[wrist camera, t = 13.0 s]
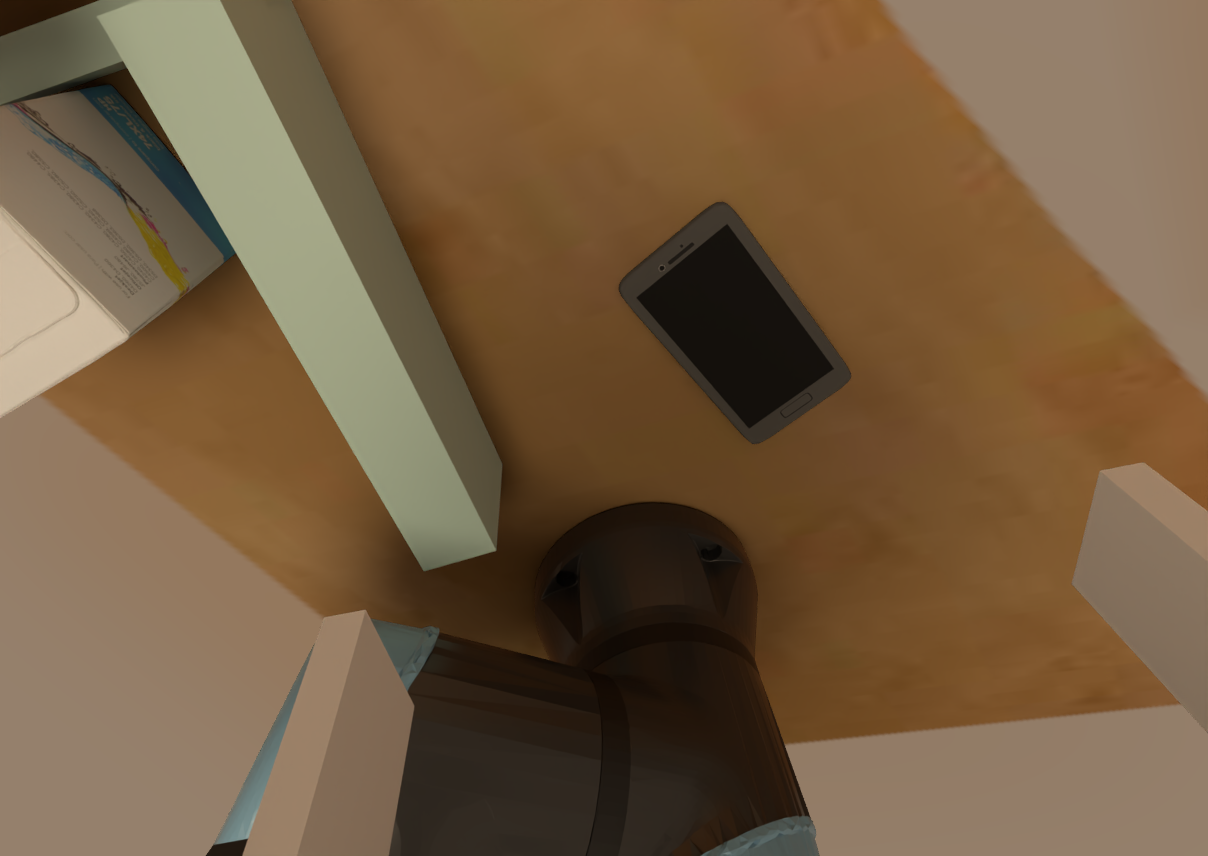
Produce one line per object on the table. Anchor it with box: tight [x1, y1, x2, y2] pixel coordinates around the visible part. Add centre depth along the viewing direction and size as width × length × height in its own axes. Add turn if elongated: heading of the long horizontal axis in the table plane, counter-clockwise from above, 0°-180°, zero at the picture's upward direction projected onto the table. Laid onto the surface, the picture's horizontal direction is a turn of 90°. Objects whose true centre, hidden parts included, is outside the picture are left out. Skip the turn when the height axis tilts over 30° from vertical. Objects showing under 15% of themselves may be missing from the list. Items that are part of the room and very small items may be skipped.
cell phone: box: [619, 202, 851, 444], centre depth 40 cm, size 7×14×1 cm, turn 40°
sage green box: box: [0, 0, 502, 571], centre depth 33 cm, size 27×14×8 cm, turn 16°
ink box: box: [0, 85, 236, 418], centre depth 29 cm, size 8×8×12 cm
